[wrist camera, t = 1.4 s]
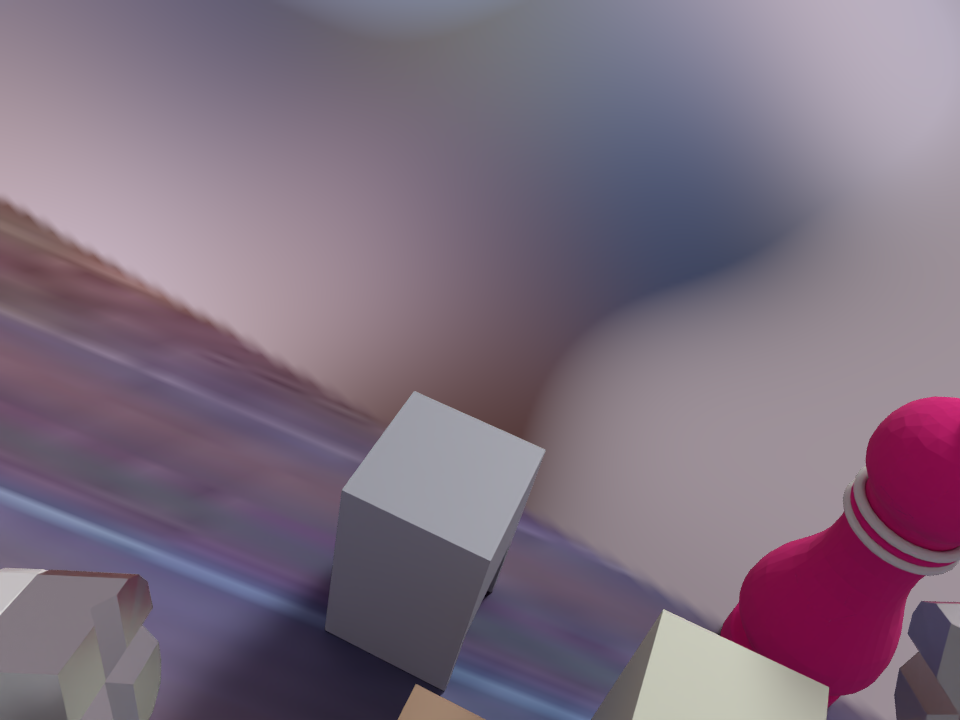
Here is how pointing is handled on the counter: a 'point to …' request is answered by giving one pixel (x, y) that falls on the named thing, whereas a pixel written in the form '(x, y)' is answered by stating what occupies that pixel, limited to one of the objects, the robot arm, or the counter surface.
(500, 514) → the cover
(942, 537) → the pepper mill
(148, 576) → the counter surface
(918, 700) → the robot arm
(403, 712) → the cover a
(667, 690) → the cover
